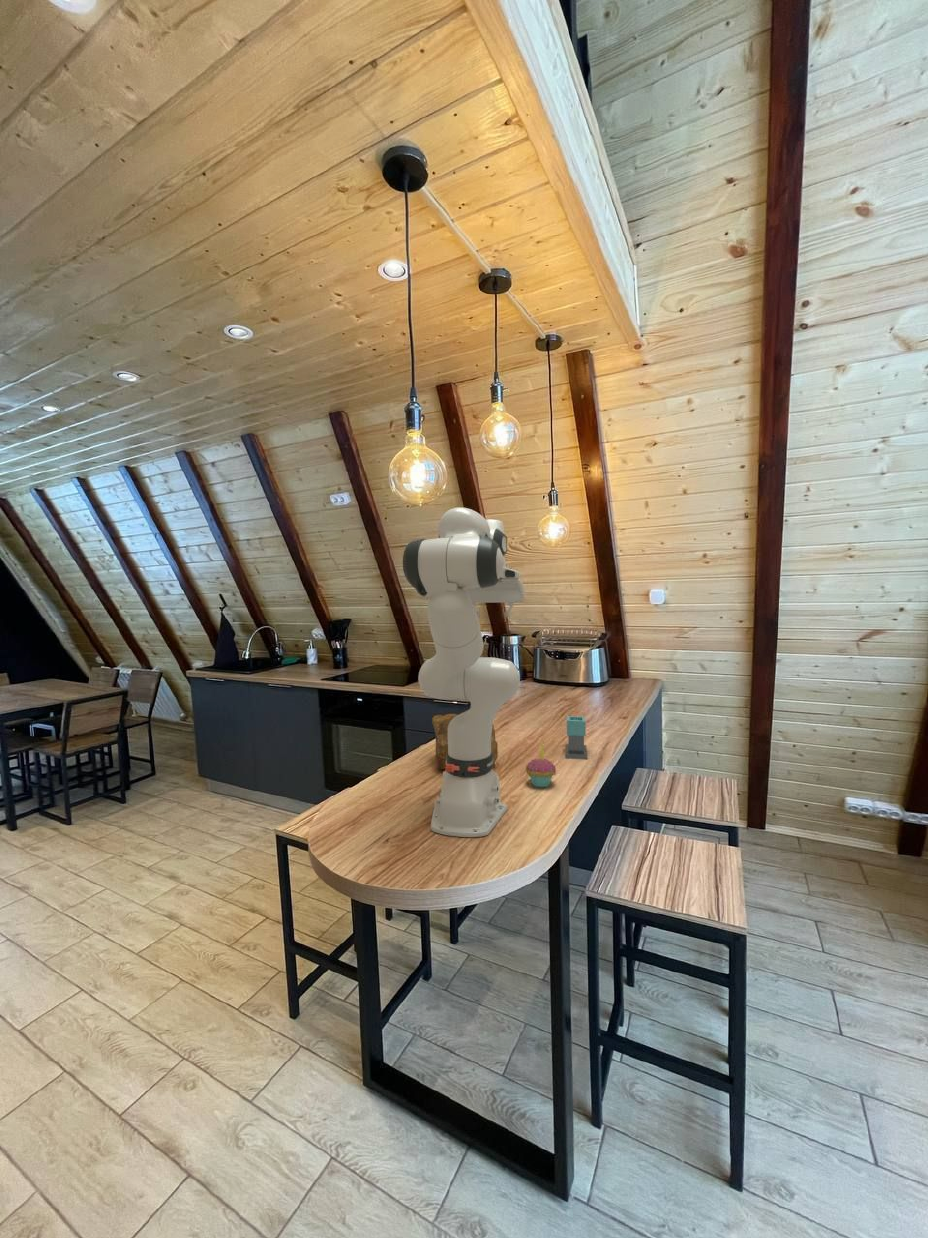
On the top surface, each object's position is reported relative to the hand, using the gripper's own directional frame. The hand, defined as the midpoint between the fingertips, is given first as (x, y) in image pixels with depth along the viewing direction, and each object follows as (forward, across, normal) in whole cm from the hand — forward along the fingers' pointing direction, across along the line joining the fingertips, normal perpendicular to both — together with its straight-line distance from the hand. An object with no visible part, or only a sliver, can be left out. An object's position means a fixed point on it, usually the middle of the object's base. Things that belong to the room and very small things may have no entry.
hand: (492, 617), depth 154 cm
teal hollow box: (+40, +26, +13) cm, 50 cm away
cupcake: (+47, +15, -14) cm, 52 cm away
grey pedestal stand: (+47, +27, +14) cm, 56 cm away
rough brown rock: (+47, -11, -3) cm, 49 cm away
